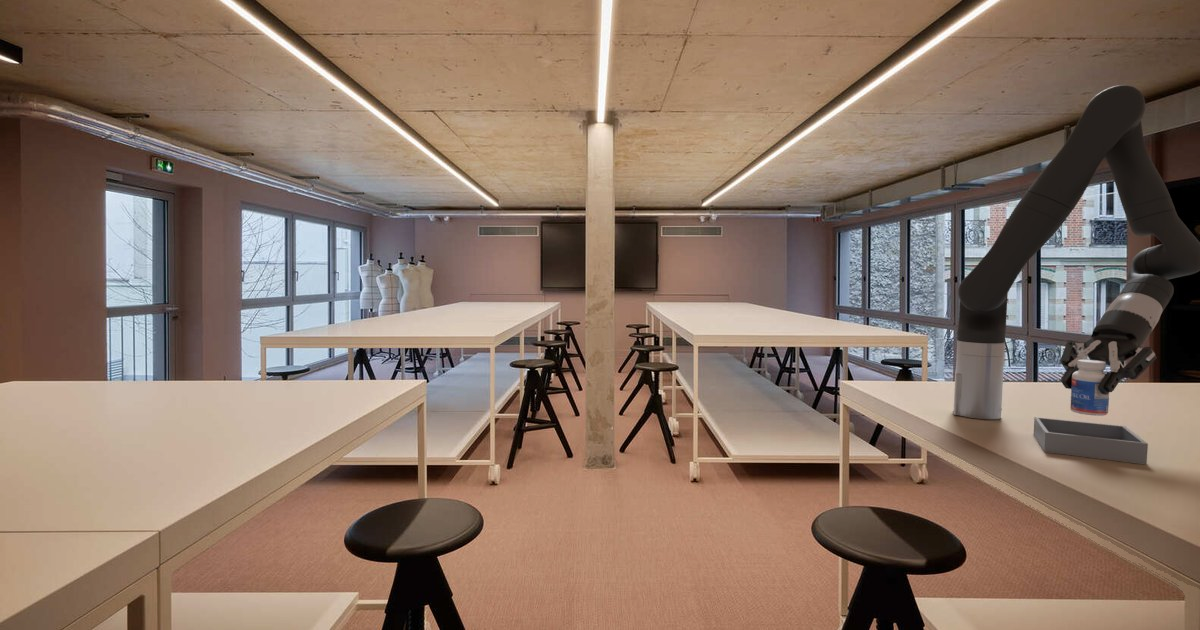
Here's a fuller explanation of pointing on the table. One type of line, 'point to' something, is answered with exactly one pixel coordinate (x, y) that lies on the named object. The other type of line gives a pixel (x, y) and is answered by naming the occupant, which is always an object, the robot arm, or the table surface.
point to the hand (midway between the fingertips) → (1083, 388)
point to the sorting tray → (1090, 440)
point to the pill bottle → (1089, 389)
